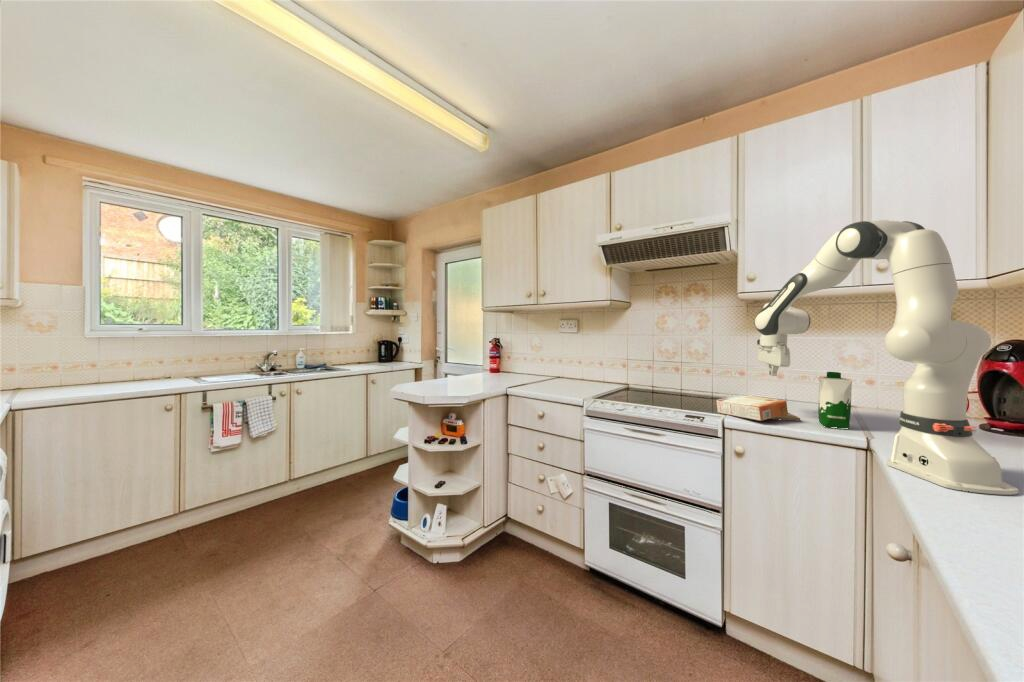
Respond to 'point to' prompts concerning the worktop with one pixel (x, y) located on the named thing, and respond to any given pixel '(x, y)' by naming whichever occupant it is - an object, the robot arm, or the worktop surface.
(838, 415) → the milk carton
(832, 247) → the robot arm
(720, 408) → the cracker box
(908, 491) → the worktop surface
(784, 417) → the walnut board
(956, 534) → the worktop surface
